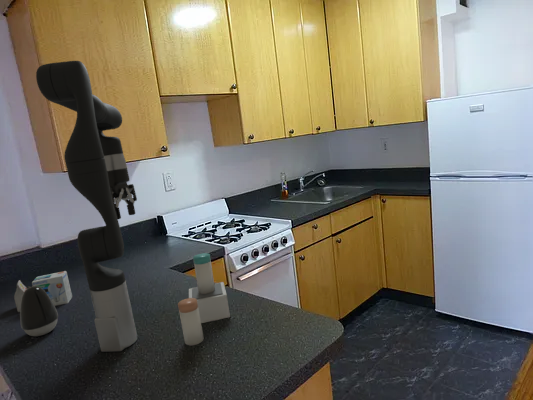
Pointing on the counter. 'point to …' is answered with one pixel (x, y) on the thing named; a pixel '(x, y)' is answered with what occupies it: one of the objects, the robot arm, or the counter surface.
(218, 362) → the counter surface
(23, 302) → the dark grey rounded pod
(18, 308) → the sunburst logo carton
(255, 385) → the counter surface
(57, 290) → the light bulb box
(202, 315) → the grey unit
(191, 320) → the white spice bottle
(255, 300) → the counter surface
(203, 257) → the teal capped canister
